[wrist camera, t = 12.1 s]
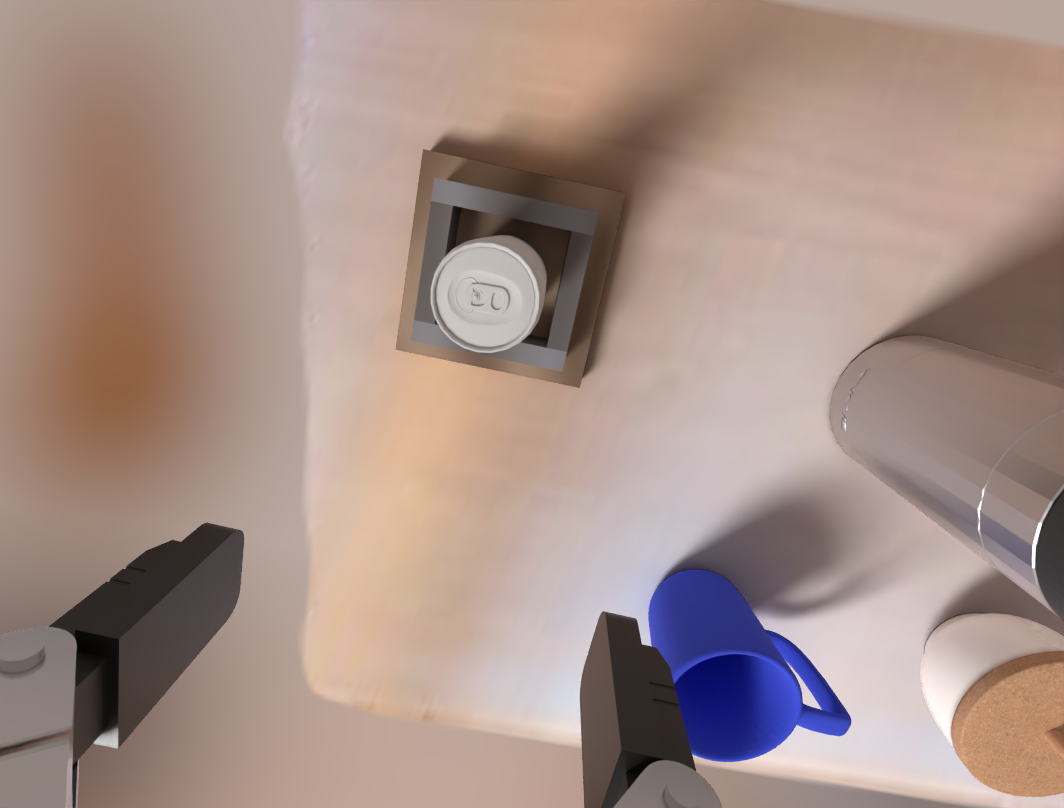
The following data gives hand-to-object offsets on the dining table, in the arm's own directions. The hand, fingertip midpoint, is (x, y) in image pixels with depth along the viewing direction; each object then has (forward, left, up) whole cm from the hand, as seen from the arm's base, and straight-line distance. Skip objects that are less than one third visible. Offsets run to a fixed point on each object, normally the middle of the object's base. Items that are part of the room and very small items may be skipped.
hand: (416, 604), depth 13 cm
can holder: (+1, -5, -27) cm, 27 cm away
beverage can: (+1, -5, -25) cm, 26 cm away
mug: (-19, +16, -27) cm, 37 cm away
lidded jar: (-38, +15, -27) cm, 49 cm away
